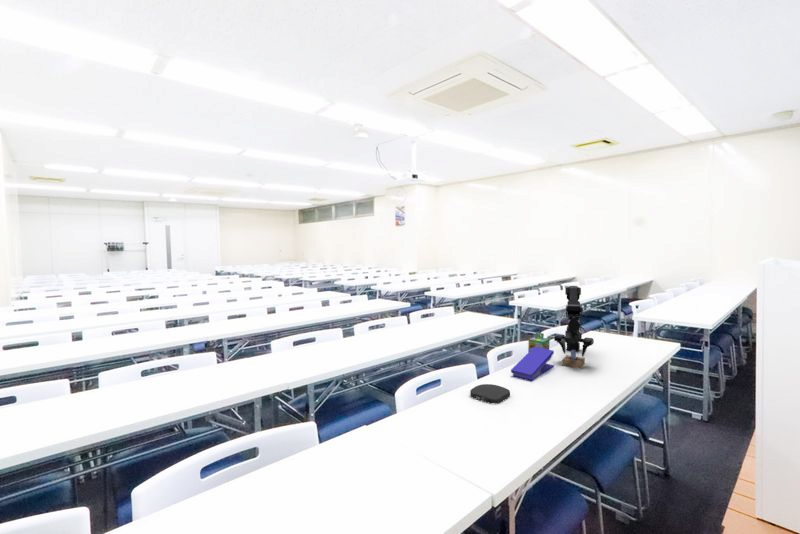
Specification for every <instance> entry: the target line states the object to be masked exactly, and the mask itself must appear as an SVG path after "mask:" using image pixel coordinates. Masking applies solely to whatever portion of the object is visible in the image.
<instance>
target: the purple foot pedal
mask: <svg viewBox="0 0 800 534" xmlns="http://www.w3.org/2000/svg"><path fill="white" fill-rule="evenodd" d="M554 354H555V352H554V350H553V349H549V350H548V349H542V348H537V347H534V348H533V349H532V350H531V351H530V352H529V353H526V355H525V356H523V357H522V359H520V360H519V361H518V362H517V364H515V365H514V366H513V367H512V368H511V369H510V372H511V373H512V377H513V376H514V377H513V378H516V377H517V378H516V379H520V378H521V380H525V379H526V380H525V381H529V380H530V382H533V381H535V380H536V379H537V378H539V377H540V376H542V375H543V374H545V373H546V372H547V373H548V371H550V370H551V369H553V368H554V367H555V365H554V364H550V363H548V362H549V360H551V358H552V357H553V355H554Z"/></svg>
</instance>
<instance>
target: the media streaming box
mask: <svg viewBox="0 0 800 534" xmlns="http://www.w3.org/2000/svg"><path fill="white" fill-rule="evenodd" d="M469 395H471V396H470V397H471V398H472V397H474V398H473V399H475V398H477V399H476V400H478V399H479V400H478V401H481V400H482V401H481V402H484V401H486V402H485V403H487V402H489V403H488V404H491V403H497V404H500V403H502V402H504V401H506V400H507V399H509V398H510V397H511V391H510V390H509V389H508V388H507V387H505V386H500V385H497V384H492V383H490V384H488V383H485V384H479V385H476V386H474V387H473V388H471V389H470V391H469ZM508 397H509V398H508ZM505 399H506V400H505ZM503 400H504V401H503Z"/></svg>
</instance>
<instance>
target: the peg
mask: <svg viewBox="0 0 800 534" xmlns="http://www.w3.org/2000/svg"><path fill="white" fill-rule="evenodd" d="M570 356H571V359H573V360H576V357H577V352H576V350H571V351H570Z"/></svg>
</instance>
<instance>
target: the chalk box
mask: <svg viewBox="0 0 800 534" xmlns="http://www.w3.org/2000/svg"><path fill="white" fill-rule="evenodd" d="M539 336H540V337H539ZM544 336H545V335H544V333H541V332H535V335H534V336H533V337H531V338H529V339H528V347H527V349H528V353H529V352H530V351H531V350H532V349H533V348H534V347H537V348H542V349H548V350H550V345H551V344H550V340H551V339H550V338H547V337H544ZM528 353H527V354H528Z"/></svg>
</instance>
